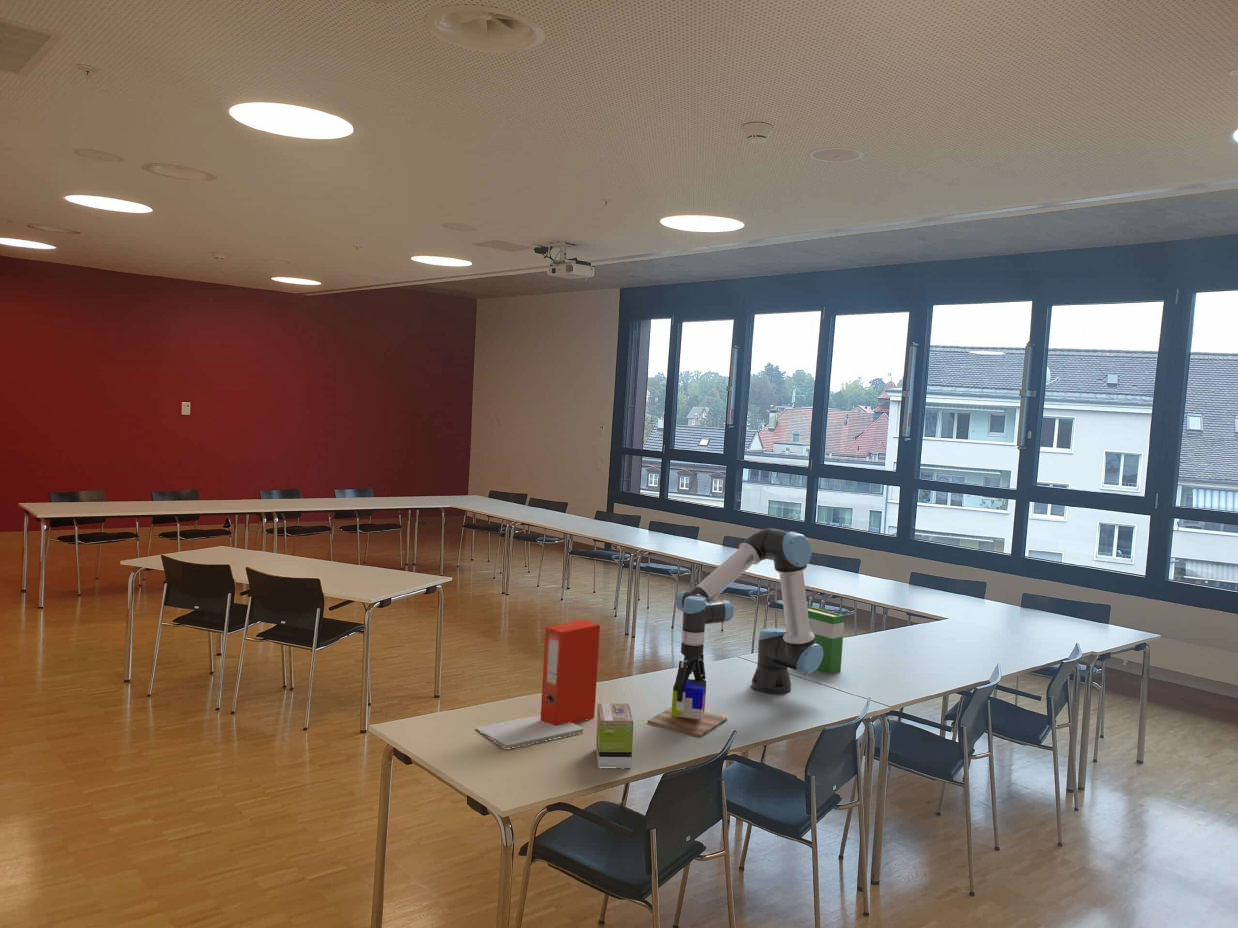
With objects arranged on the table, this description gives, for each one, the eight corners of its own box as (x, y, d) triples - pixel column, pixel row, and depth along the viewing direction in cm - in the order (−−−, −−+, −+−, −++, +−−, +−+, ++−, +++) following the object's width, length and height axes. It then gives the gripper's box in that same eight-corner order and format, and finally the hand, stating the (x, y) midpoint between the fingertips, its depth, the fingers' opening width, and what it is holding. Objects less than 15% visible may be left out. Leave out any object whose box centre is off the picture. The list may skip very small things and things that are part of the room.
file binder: (594, 718, 296) (599, 624, 294) (556, 729, 284) (561, 632, 282) (578, 711, 302) (583, 619, 300) (540, 722, 290) (545, 626, 288)
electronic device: (506, 751, 265) (506, 745, 265) (474, 730, 280) (474, 724, 280) (583, 734, 282) (584, 728, 282) (550, 715, 298) (550, 709, 298)
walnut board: (675, 707, 311) (675, 704, 311) (727, 720, 301) (727, 717, 301) (647, 722, 294) (647, 720, 294) (701, 737, 284) (701, 734, 284)
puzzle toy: (701, 719, 291) (703, 689, 291) (671, 715, 293) (673, 686, 293) (704, 709, 301) (706, 680, 301) (675, 705, 303) (677, 677, 303)
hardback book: (795, 663, 376) (799, 608, 374) (806, 661, 381) (810, 606, 379) (829, 674, 363) (833, 617, 361) (840, 671, 367) (844, 615, 366)
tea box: (594, 748, 270) (597, 701, 269) (627, 749, 270) (629, 702, 270) (597, 769, 255) (600, 719, 254) (632, 769, 255) (634, 719, 255)
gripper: (698, 633, 308) (694, 694, 309) (665, 647, 288) (661, 712, 289) (717, 637, 304) (713, 699, 305) (686, 652, 284) (682, 717, 285)
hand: (688, 705), depth 297 cm, fingers closed on puzzle toy, 12 cm apart
